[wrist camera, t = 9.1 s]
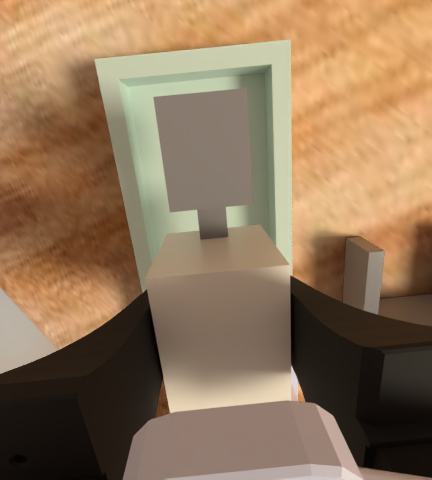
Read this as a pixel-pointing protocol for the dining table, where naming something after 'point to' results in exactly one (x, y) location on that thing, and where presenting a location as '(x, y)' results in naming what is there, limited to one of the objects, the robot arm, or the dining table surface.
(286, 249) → the tray
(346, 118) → the dining table surface
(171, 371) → the joined block pair
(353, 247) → the bay
